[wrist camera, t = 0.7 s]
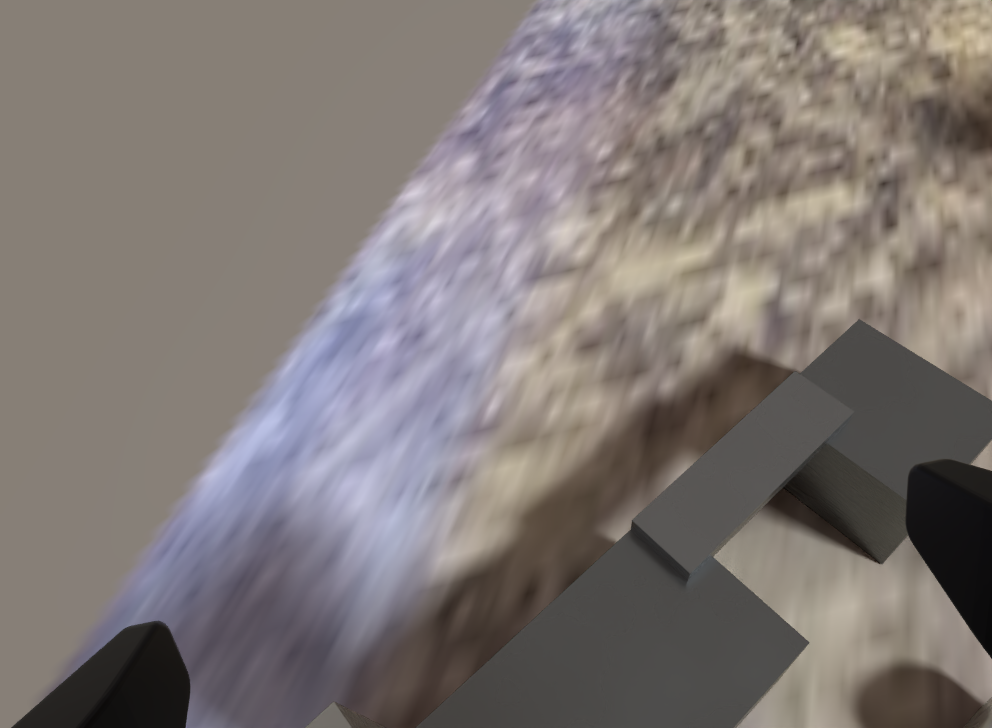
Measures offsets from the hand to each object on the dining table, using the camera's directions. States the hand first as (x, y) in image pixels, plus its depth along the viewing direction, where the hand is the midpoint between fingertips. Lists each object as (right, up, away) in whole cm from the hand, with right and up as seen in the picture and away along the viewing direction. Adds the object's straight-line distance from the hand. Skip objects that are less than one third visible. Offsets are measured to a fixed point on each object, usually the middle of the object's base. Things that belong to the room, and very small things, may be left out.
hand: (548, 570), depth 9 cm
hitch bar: (+5, -6, +13) cm, 15 cm away
